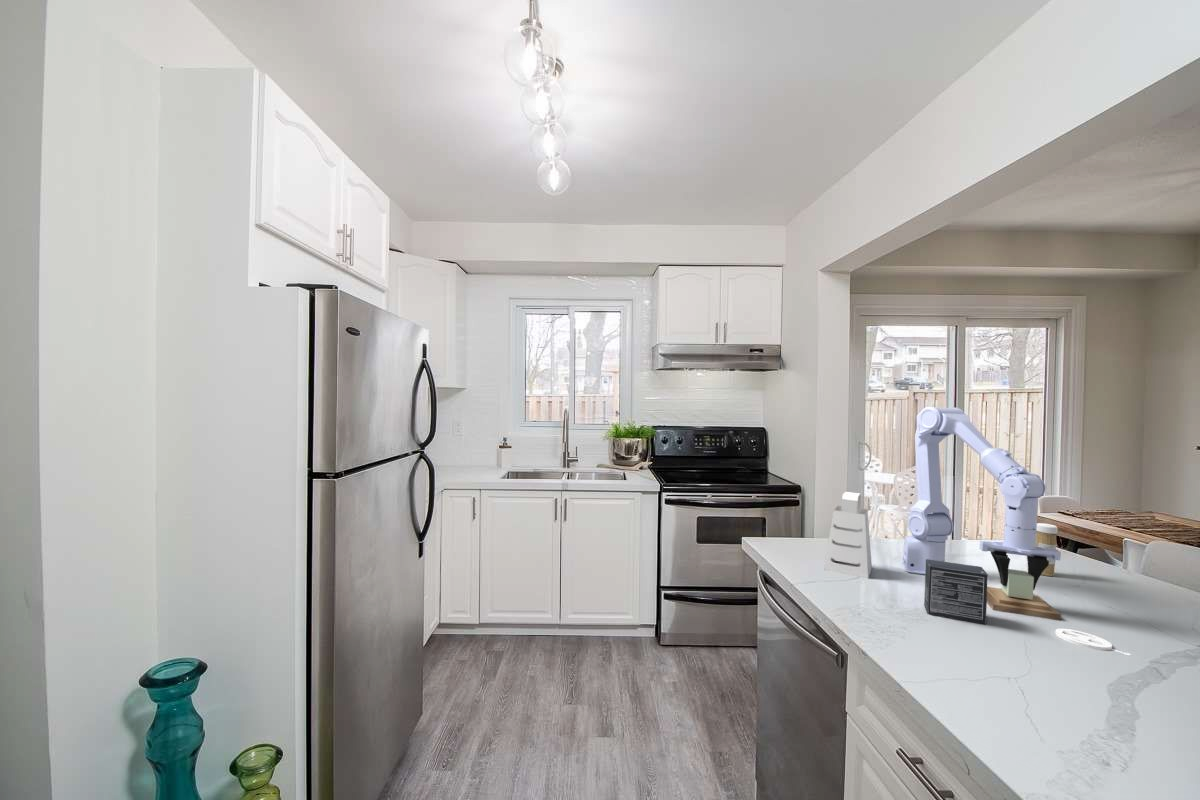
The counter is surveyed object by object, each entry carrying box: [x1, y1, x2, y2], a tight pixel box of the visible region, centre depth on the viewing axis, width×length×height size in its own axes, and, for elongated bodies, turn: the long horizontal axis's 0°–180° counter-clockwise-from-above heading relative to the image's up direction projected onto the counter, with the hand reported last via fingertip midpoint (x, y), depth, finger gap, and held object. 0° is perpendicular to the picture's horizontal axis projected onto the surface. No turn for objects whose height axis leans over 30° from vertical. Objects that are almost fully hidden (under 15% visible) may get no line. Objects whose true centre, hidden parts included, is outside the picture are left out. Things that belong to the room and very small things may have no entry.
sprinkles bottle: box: [1036, 522, 1059, 577], centre depth 146 cm, size 5×5×14 cm
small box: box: [923, 559, 989, 625], centre depth 115 cm, size 11×6×10 cm, turn 65°
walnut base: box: [987, 586, 1062, 621], centre depth 122 cm, size 12×12×2 cm
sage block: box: [1001, 568, 1034, 600], centre depth 122 cm, size 4×4×5 cm
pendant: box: [1054, 628, 1132, 657], centre depth 103 cm, size 7×11×1 cm, turn 37°
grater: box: [823, 491, 873, 579], centre depth 143 cm, size 10×10×20 cm
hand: (1017, 586), depth 121 cm, fingers closed on sage block, 4 cm apart
